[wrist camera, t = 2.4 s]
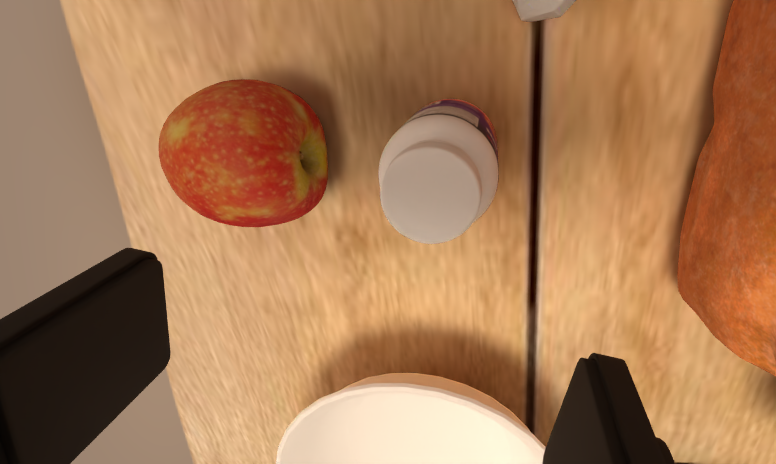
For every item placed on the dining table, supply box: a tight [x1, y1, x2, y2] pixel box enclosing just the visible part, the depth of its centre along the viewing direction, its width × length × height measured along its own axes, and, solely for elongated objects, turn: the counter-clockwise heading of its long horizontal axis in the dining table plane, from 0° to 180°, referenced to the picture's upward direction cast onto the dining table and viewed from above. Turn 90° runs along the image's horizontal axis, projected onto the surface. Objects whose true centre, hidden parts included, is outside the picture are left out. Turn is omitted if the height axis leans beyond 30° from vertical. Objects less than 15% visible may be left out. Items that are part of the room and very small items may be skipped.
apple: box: [159, 80, 328, 227], centre depth 25 cm, size 8×8×8 cm
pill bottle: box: [378, 99, 499, 244], centre depth 22 cm, size 5×5×10 cm
